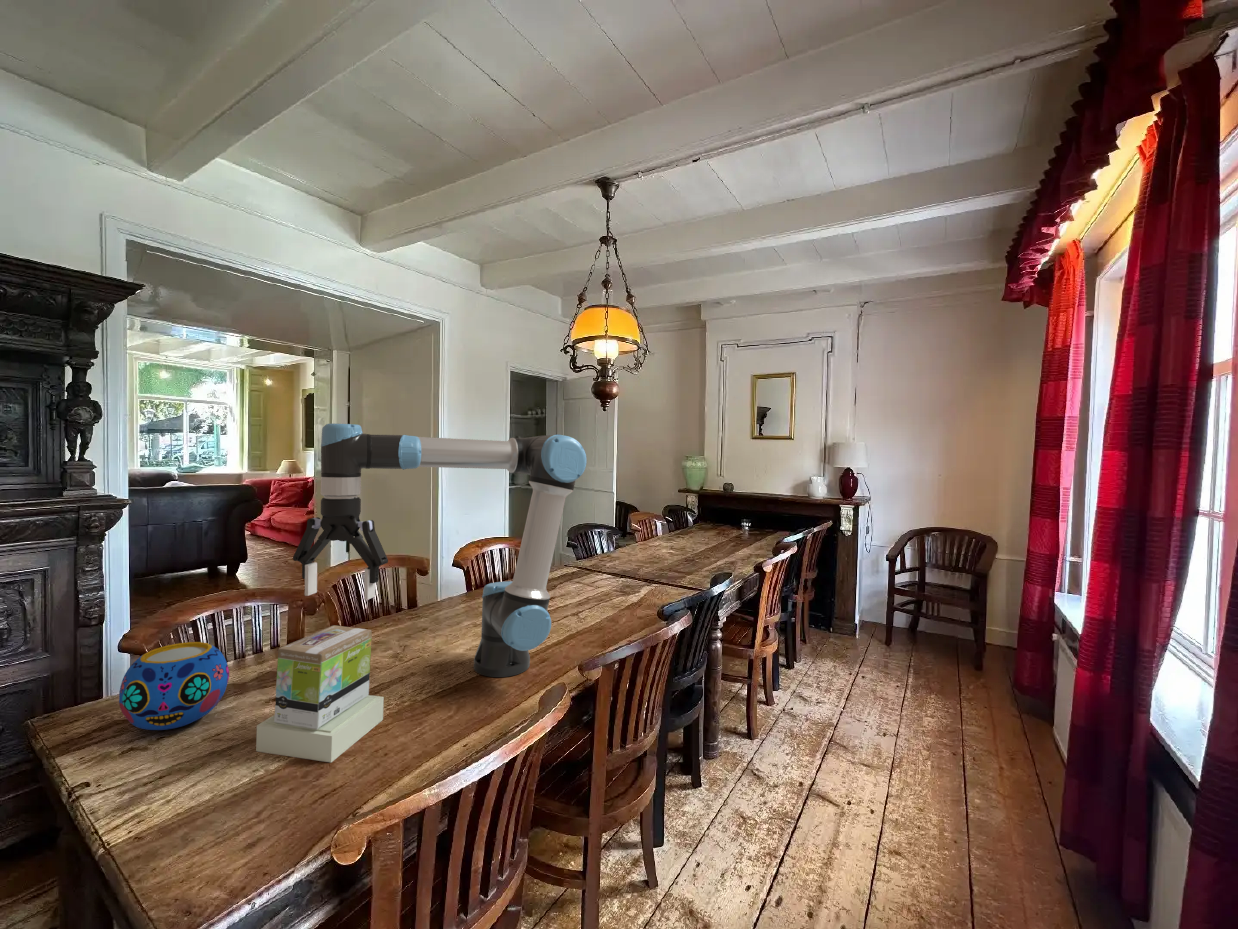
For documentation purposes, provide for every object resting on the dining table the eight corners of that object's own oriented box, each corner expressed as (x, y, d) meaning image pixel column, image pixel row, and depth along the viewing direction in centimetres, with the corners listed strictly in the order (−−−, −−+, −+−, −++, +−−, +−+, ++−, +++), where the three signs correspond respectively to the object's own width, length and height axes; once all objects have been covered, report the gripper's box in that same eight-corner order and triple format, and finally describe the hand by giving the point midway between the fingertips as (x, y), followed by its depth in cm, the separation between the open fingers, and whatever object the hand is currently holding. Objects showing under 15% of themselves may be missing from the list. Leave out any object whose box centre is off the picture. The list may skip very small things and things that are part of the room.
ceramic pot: (101, 755, 97) (102, 675, 96) (135, 711, 112) (137, 642, 112) (218, 735, 105) (220, 661, 104) (235, 696, 121) (236, 632, 120)
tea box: (318, 731, 98) (321, 653, 98) (273, 724, 100) (275, 647, 100) (370, 695, 113) (373, 627, 112) (330, 689, 115) (332, 623, 114)
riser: (383, 719, 113) (383, 695, 113) (331, 762, 97) (331, 734, 97) (317, 711, 116) (317, 687, 116) (256, 751, 100) (256, 724, 100)
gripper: (405, 497, 112) (404, 594, 113) (300, 492, 116) (299, 587, 116) (385, 500, 105) (384, 605, 106) (273, 495, 108) (273, 597, 109)
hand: (340, 596), depth 111 cm, fingers open, 13 cm apart
